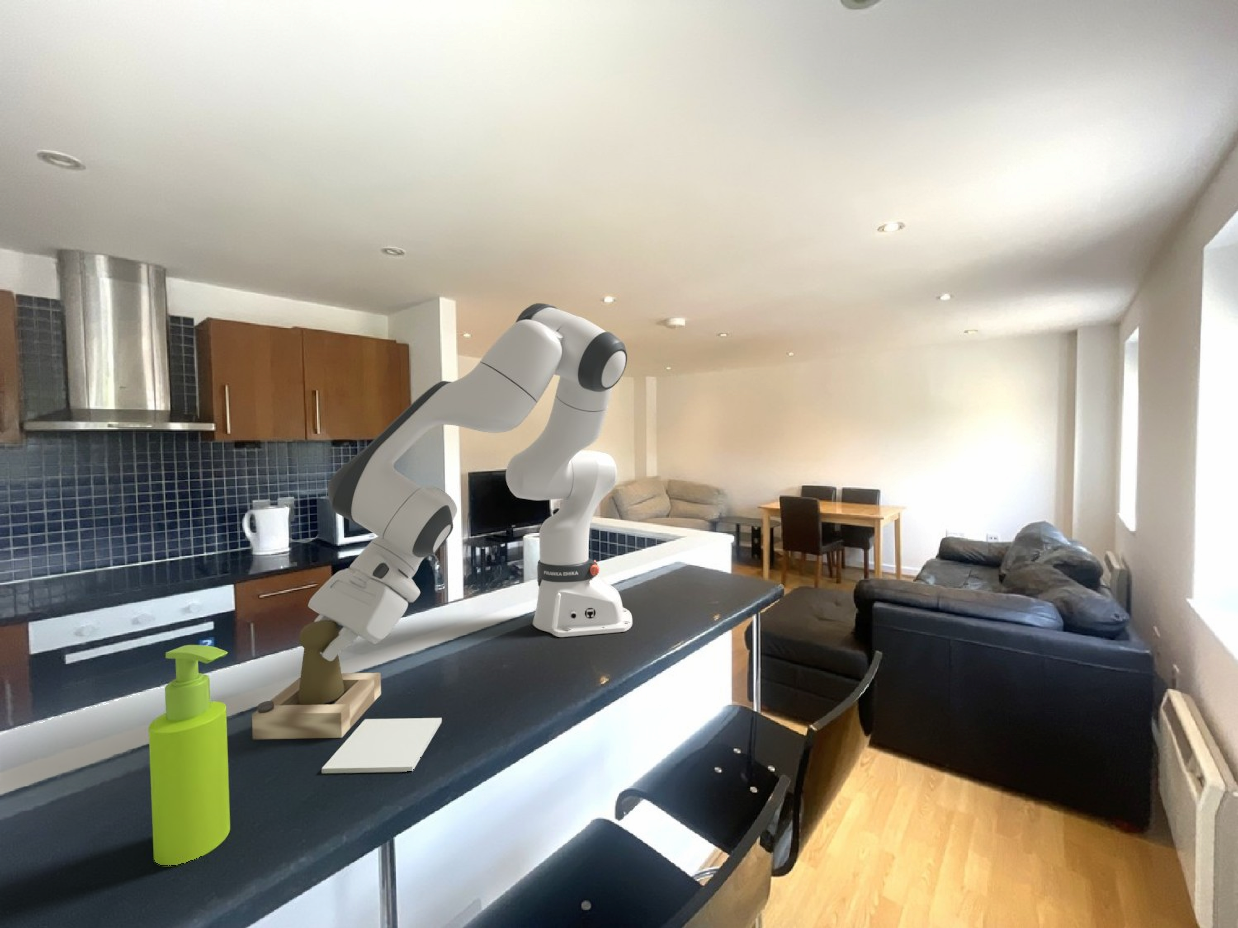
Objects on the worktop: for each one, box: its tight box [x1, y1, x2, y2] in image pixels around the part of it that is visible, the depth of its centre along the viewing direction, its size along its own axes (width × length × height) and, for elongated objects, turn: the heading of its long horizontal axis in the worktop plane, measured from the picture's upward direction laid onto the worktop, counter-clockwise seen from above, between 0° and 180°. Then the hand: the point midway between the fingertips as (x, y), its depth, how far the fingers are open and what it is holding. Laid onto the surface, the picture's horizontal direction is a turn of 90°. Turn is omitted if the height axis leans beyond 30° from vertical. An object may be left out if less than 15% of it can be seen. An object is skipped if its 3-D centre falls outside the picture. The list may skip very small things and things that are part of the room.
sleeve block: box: [251, 672, 382, 740], centre depth 74 cm, size 12×12×4 cm
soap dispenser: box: [148, 644, 231, 867], centre depth 50 cm, size 6×7×20 cm
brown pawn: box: [298, 620, 345, 705], centre depth 75 cm, size 6×6×11 cm
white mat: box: [321, 717, 443, 774], centre depth 67 cm, size 11×11×1 cm
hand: (315, 652), depth 74 cm, fingers closed on brown pawn, 5 cm apart
